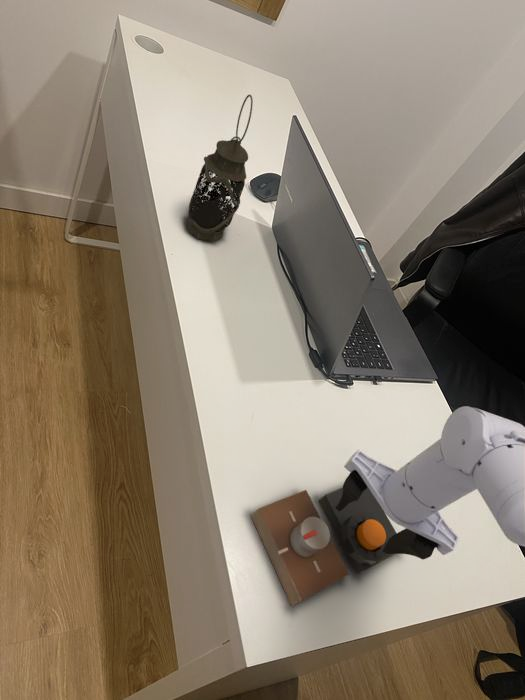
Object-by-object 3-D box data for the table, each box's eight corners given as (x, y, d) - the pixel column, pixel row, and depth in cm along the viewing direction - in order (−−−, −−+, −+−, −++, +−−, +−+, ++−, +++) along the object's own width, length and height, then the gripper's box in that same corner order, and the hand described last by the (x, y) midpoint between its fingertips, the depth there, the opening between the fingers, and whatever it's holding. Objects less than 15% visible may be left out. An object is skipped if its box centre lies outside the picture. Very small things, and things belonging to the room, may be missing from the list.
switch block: (396, 552, 72) (412, 544, 69) (350, 578, 67) (365, 570, 64) (358, 483, 77) (371, 473, 74) (311, 503, 72) (324, 492, 69)
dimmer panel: (339, 579, 66) (350, 573, 64) (290, 606, 62) (301, 601, 59) (298, 497, 71) (307, 488, 69) (250, 516, 67) (258, 508, 65)
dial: (308, 521, 66) (321, 511, 64) (323, 550, 65) (336, 541, 62) (284, 532, 64) (296, 522, 61) (299, 562, 62) (312, 553, 60)
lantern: (182, 209, 102) (223, 74, 81) (224, 219, 105) (274, 91, 84) (183, 240, 96) (228, 103, 76) (228, 250, 99) (282, 121, 79)
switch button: (384, 544, 68) (390, 540, 66) (365, 554, 66) (372, 550, 64) (370, 519, 69) (376, 515, 68) (351, 528, 67) (357, 524, 66)
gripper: (493, 504, 54) (420, 542, 64) (389, 415, 56) (334, 465, 66) (476, 553, 49) (400, 586, 59) (363, 454, 52) (308, 501, 62)
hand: (363, 525), depth 62 cm, fingers open, 7 cm apart
